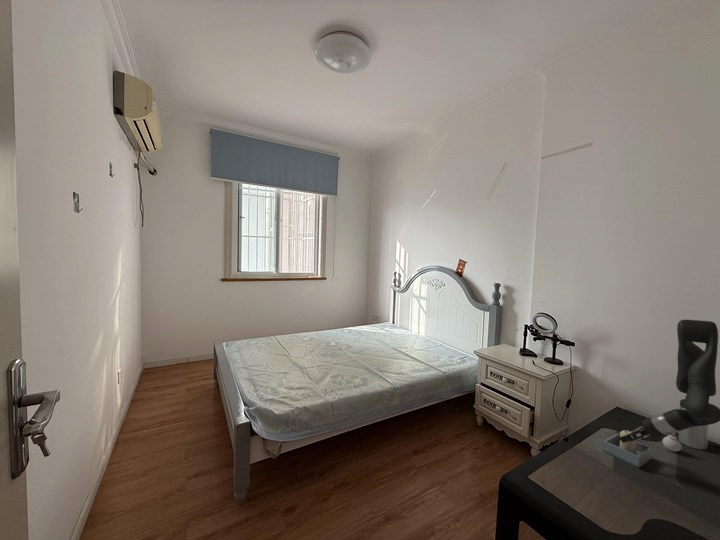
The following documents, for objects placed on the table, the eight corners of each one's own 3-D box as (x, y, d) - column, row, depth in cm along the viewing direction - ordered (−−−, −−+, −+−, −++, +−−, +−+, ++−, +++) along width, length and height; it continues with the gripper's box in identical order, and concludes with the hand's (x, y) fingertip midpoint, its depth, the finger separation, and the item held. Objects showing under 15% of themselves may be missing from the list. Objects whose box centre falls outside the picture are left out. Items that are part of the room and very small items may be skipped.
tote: (617, 443, 141) (617, 433, 141) (652, 459, 130) (652, 448, 130) (602, 451, 135) (603, 440, 135) (638, 468, 124) (638, 457, 124)
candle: (639, 458, 129) (640, 435, 129) (624, 456, 130) (625, 434, 130) (630, 450, 135) (631, 429, 135) (616, 448, 136) (617, 427, 136)
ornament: (664, 444, 141) (664, 424, 141) (686, 452, 135) (687, 431, 135) (661, 449, 138) (661, 428, 137) (684, 457, 131) (685, 436, 131)
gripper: (659, 412, 128) (625, 425, 139) (645, 420, 122) (611, 433, 132) (676, 430, 124) (640, 442, 134) (662, 439, 117) (625, 451, 128)
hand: (625, 437), depth 133 cm, fingers open, 8 cm apart
